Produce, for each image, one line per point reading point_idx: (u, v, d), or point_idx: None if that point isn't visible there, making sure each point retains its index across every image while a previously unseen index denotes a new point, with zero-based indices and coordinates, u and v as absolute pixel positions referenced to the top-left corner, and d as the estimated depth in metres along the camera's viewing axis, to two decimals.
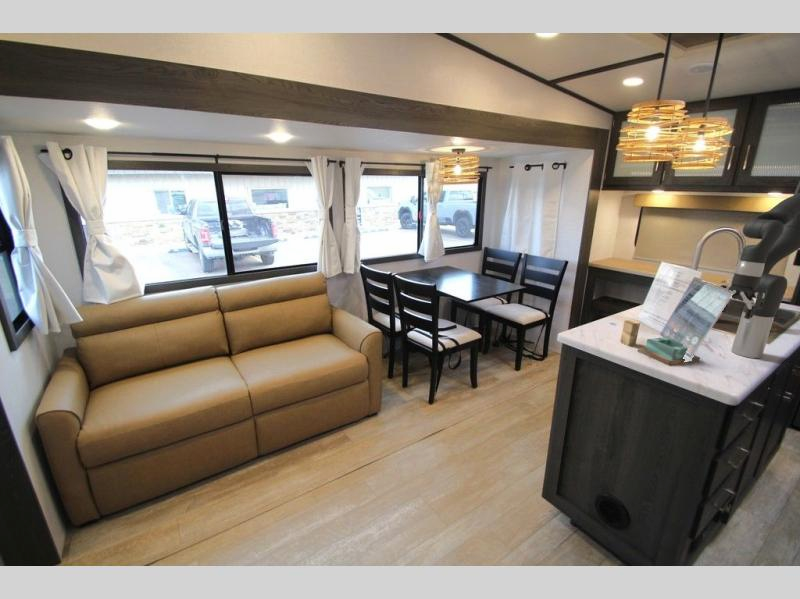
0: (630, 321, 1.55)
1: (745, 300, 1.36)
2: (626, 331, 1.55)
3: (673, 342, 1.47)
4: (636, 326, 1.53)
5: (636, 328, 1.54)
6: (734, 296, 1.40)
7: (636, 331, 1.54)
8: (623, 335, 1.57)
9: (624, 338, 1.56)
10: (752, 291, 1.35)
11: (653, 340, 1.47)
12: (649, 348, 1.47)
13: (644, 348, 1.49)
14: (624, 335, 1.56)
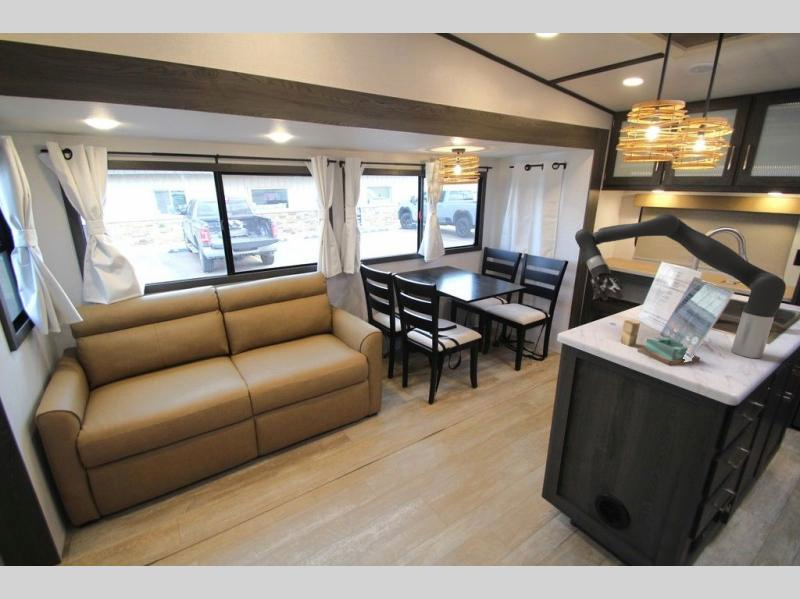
0: (630, 321, 1.55)
1: None
2: (626, 331, 1.56)
3: (673, 342, 1.47)
4: (636, 326, 1.53)
5: (636, 328, 1.54)
6: None
7: (636, 331, 1.54)
8: (623, 335, 1.57)
9: (624, 338, 1.56)
10: None
11: (653, 340, 1.47)
12: (649, 348, 1.47)
13: (644, 348, 1.49)
14: (624, 335, 1.56)
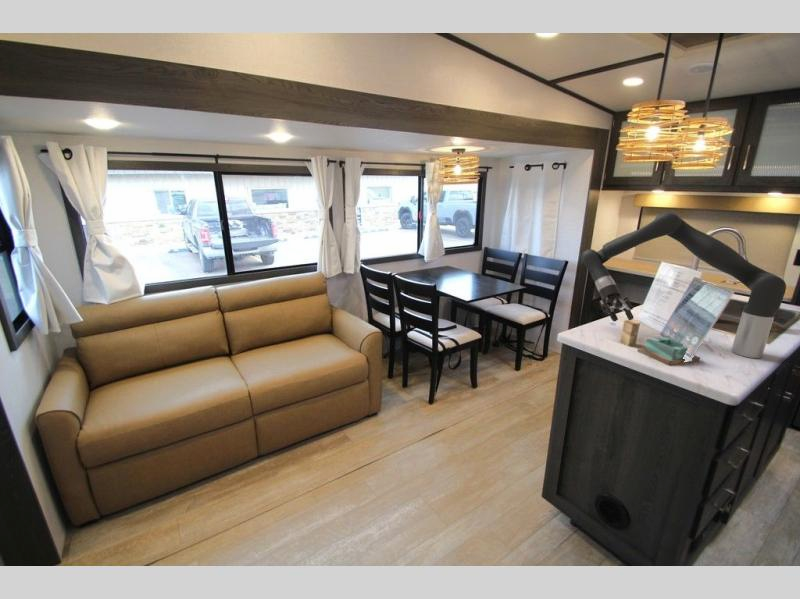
0: (630, 321, 1.55)
1: None
2: (626, 331, 1.56)
3: (673, 342, 1.47)
4: (636, 326, 1.53)
5: (636, 328, 1.54)
6: None
7: (636, 331, 1.54)
8: (623, 335, 1.57)
9: (624, 338, 1.56)
10: None
11: (653, 340, 1.47)
12: (649, 348, 1.47)
13: (644, 348, 1.49)
14: (624, 335, 1.56)
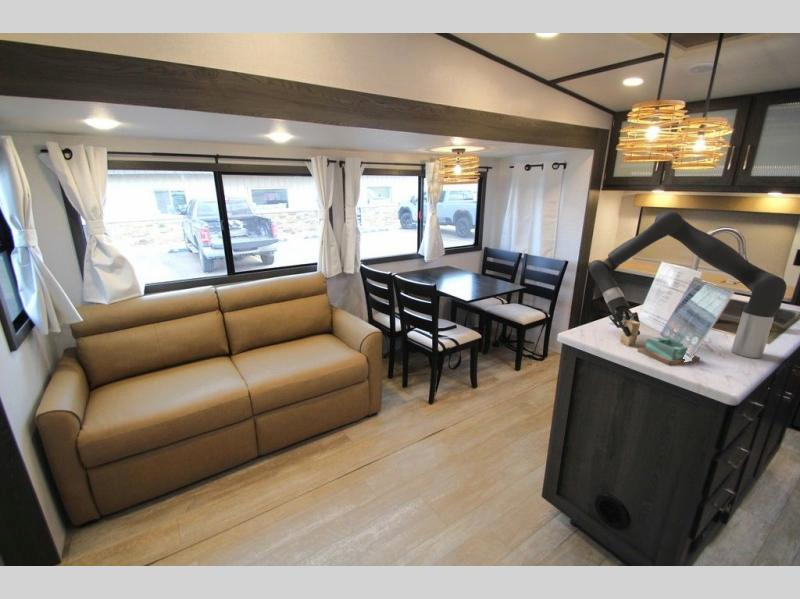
0: (630, 321, 1.55)
1: None
2: None
3: (673, 342, 1.47)
4: (636, 326, 1.53)
5: (636, 328, 1.54)
6: None
7: (636, 331, 1.54)
8: (623, 335, 1.57)
9: (624, 338, 1.56)
10: (613, 314, 1.59)
11: (653, 340, 1.47)
12: (649, 348, 1.47)
13: (644, 348, 1.49)
14: (624, 335, 1.56)
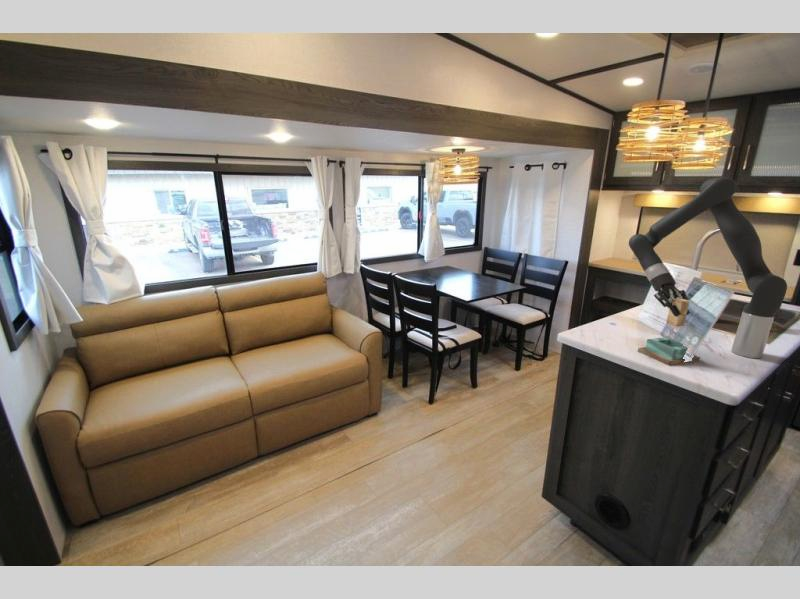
0: (678, 299, 1.40)
1: None
2: None
3: (673, 342, 1.47)
4: (686, 304, 1.39)
5: (685, 306, 1.39)
6: None
7: (685, 310, 1.39)
8: (670, 315, 1.42)
9: (671, 318, 1.42)
10: (658, 292, 1.44)
11: (653, 340, 1.47)
12: (649, 348, 1.47)
13: (644, 348, 1.49)
14: (671, 315, 1.41)
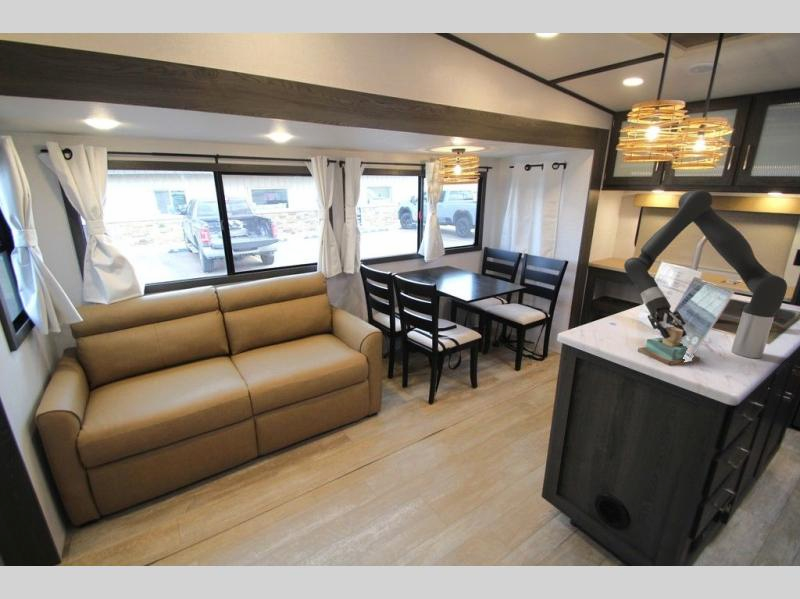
0: (672, 328, 1.43)
1: None
2: (667, 339, 1.44)
3: None
4: (679, 333, 1.41)
5: (679, 336, 1.42)
6: None
7: (679, 339, 1.42)
8: (664, 343, 1.45)
9: None
10: None
11: (653, 340, 1.47)
12: (649, 348, 1.47)
13: (644, 348, 1.49)
14: (665, 343, 1.44)
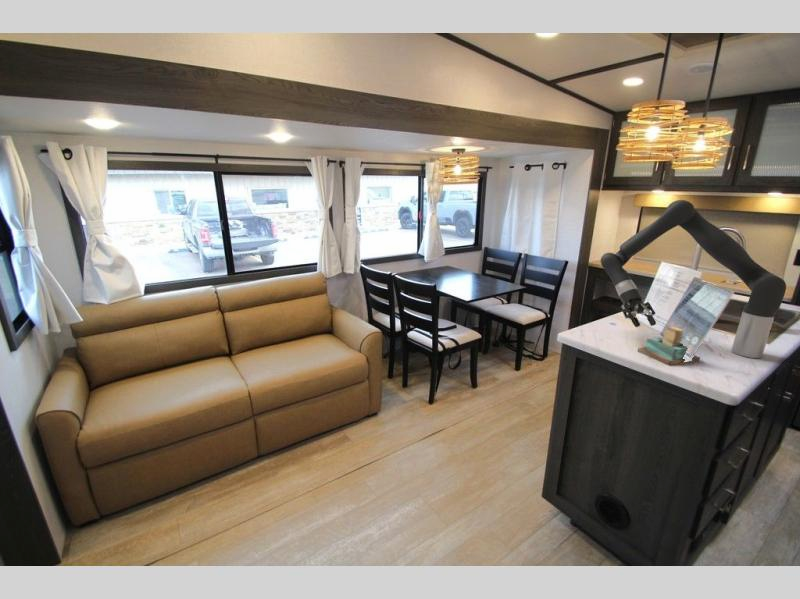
0: (672, 328, 1.43)
1: None
2: (667, 339, 1.44)
3: None
4: (679, 333, 1.41)
5: (679, 336, 1.42)
6: None
7: (679, 339, 1.42)
8: (664, 343, 1.45)
9: None
10: None
11: (653, 340, 1.47)
12: (649, 348, 1.47)
13: (644, 348, 1.49)
14: (665, 343, 1.44)
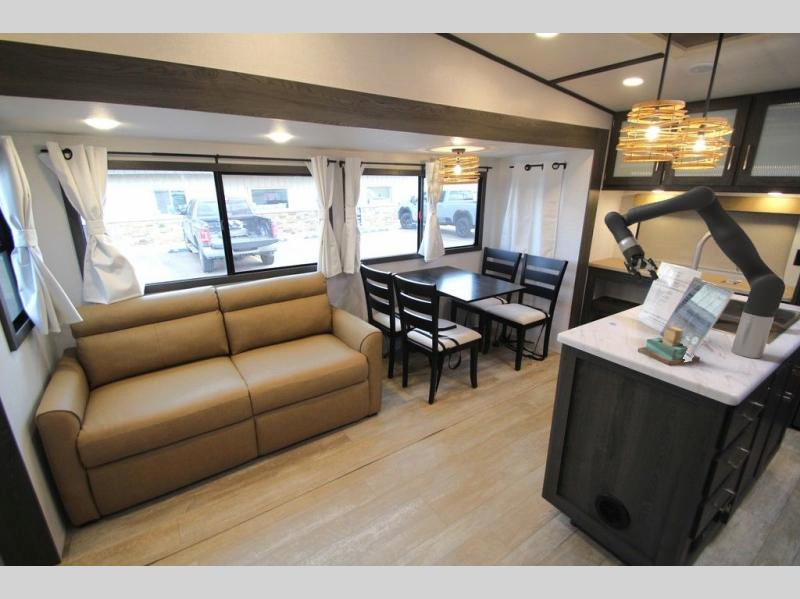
0: (672, 328, 1.43)
1: None
2: (667, 339, 1.44)
3: None
4: (679, 333, 1.41)
5: (679, 336, 1.42)
6: None
7: (679, 339, 1.42)
8: (664, 343, 1.45)
9: None
10: None
11: (653, 340, 1.47)
12: (649, 348, 1.47)
13: (644, 348, 1.49)
14: (665, 343, 1.44)
